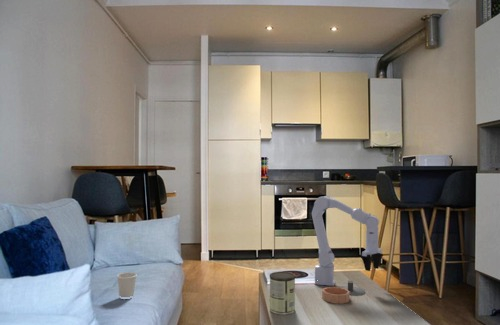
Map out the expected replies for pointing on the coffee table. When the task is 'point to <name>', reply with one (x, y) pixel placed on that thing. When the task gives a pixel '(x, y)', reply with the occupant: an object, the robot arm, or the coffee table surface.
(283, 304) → the coffee can
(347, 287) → the lid
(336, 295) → the bowl
